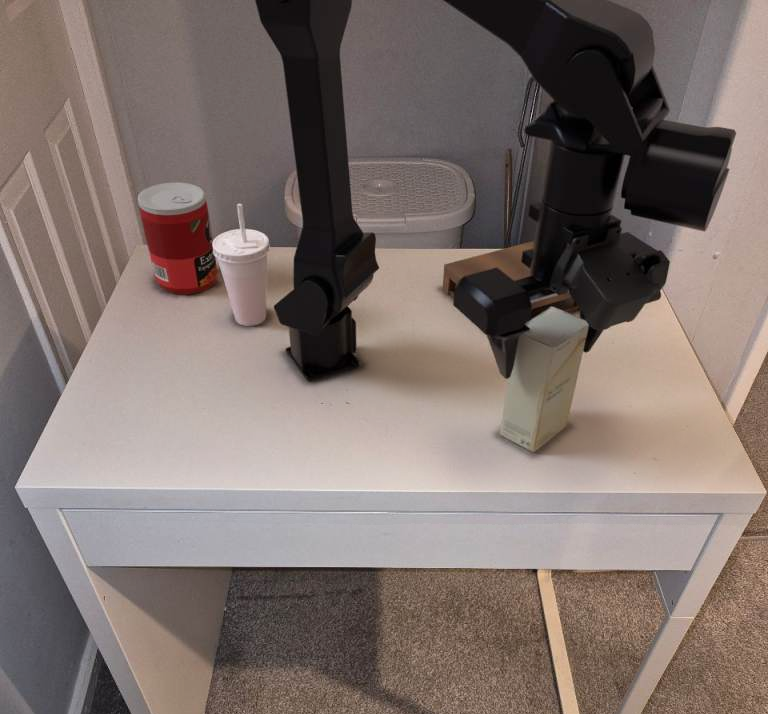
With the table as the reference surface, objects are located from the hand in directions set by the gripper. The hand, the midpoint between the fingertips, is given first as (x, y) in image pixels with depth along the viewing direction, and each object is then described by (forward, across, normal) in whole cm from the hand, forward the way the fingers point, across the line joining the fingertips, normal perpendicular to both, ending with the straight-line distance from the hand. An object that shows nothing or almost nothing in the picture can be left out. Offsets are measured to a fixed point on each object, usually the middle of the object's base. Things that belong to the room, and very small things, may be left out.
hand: (545, 362), depth 72 cm
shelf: (+8, +13, +22) cm, 27 cm away
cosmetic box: (+8, 0, 0) cm, 8 cm away
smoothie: (+8, -18, +33) cm, 38 cm away
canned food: (+8, -22, +45) cm, 51 cm away
